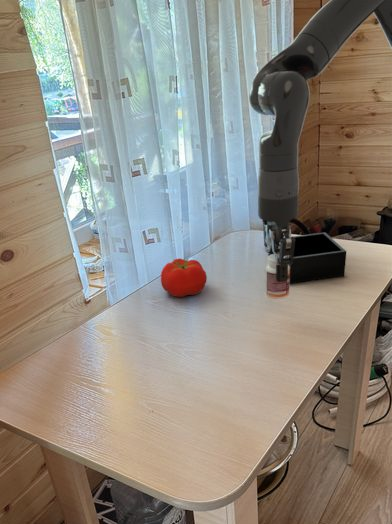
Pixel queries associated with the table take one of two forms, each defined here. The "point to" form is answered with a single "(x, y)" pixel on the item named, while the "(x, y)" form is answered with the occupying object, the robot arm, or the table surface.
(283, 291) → the pill bottle
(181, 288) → the tomato
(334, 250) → the black storage bin
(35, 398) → the table surface
